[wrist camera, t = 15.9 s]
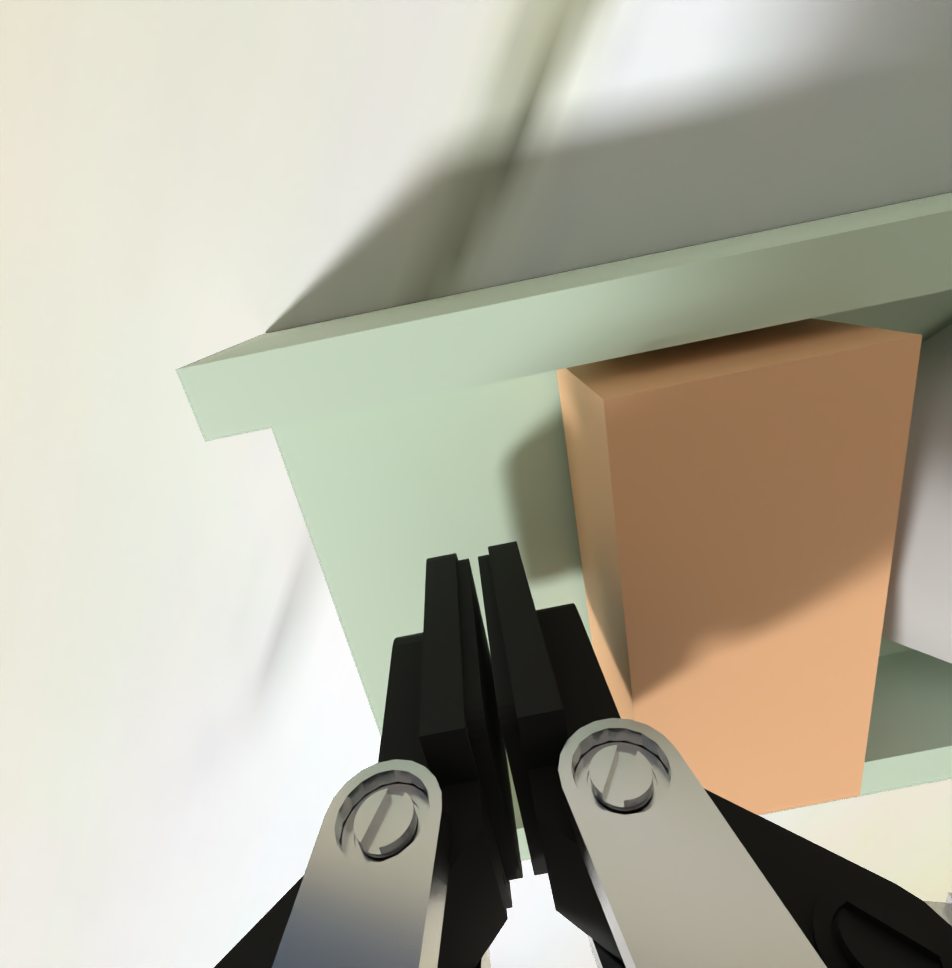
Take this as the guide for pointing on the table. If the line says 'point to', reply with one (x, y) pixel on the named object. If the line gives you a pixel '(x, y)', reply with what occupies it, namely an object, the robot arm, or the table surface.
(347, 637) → the pale green shallow box
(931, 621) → the flask
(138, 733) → the table surface
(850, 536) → the block
